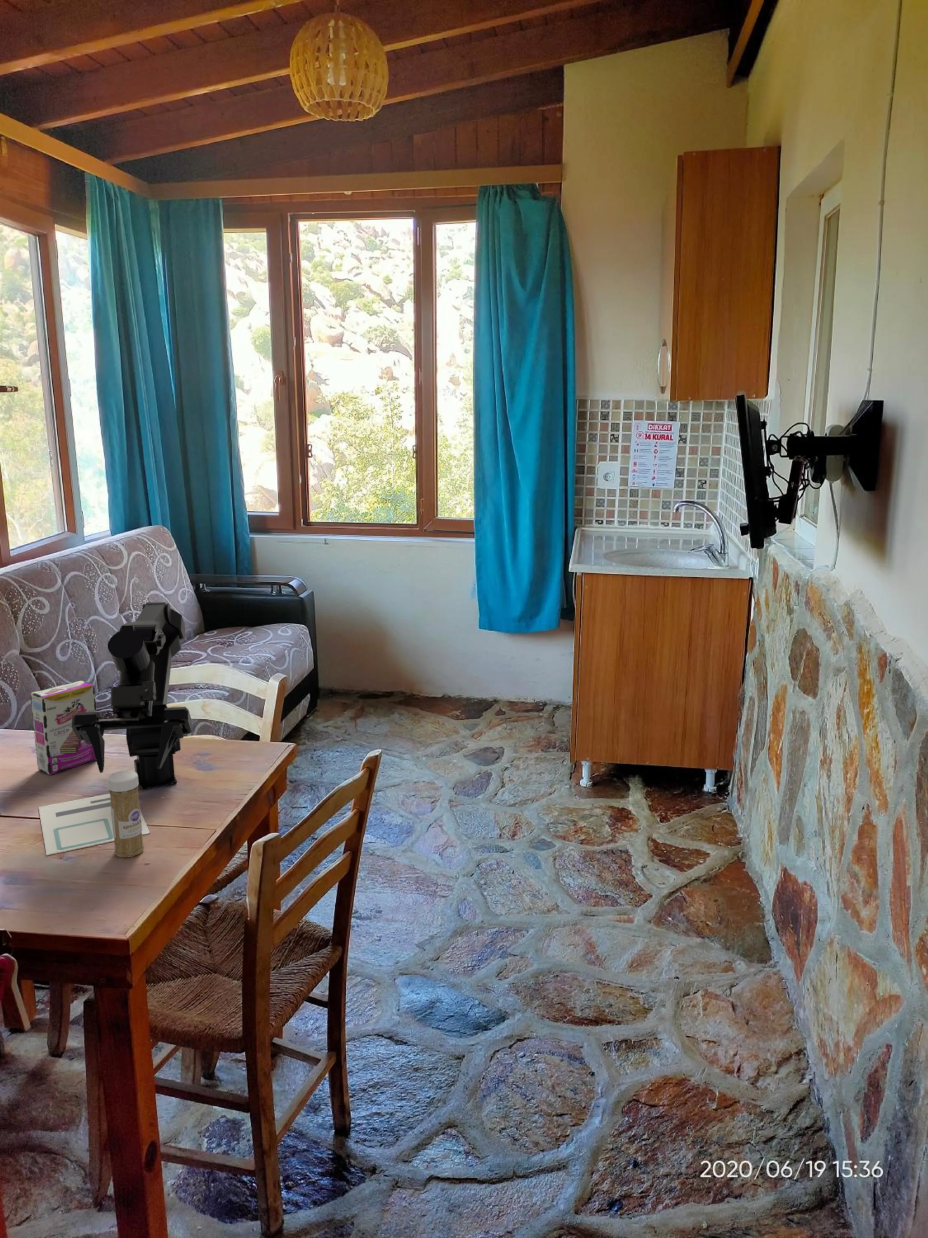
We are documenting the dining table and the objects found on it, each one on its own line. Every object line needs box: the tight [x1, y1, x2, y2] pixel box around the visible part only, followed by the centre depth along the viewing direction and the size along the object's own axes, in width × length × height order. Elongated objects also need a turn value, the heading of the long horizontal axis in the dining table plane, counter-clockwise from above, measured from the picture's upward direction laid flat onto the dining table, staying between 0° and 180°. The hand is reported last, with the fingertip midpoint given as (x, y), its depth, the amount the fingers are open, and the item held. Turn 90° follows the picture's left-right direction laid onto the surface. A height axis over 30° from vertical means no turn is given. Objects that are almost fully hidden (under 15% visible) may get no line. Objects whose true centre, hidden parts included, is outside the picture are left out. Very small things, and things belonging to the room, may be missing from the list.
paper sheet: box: [38, 793, 151, 857], centre depth 153 cm, size 16×20×1 cm
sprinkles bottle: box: [107, 770, 145, 858], centre depth 141 cm, size 5×5×13 cm
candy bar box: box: [30, 680, 97, 776], centre depth 175 cm, size 11×5×16 cm, turn 144°
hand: (130, 769), depth 145 cm, fingers open, 9 cm apart
